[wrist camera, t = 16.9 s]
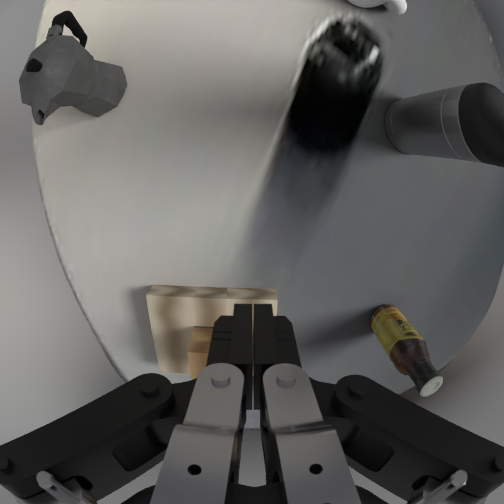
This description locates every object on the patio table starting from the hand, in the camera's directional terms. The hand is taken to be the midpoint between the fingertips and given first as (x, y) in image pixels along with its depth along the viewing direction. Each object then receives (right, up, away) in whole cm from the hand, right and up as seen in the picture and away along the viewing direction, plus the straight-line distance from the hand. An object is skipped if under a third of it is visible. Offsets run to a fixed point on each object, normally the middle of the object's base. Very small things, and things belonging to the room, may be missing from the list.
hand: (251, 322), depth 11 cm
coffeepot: (-23, +29, +21) cm, 42 cm away
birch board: (-7, -10, +35) cm, 37 cm away
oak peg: (-6, -10, +35) cm, 37 cm away
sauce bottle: (+24, -9, +36) cm, 45 cm away
